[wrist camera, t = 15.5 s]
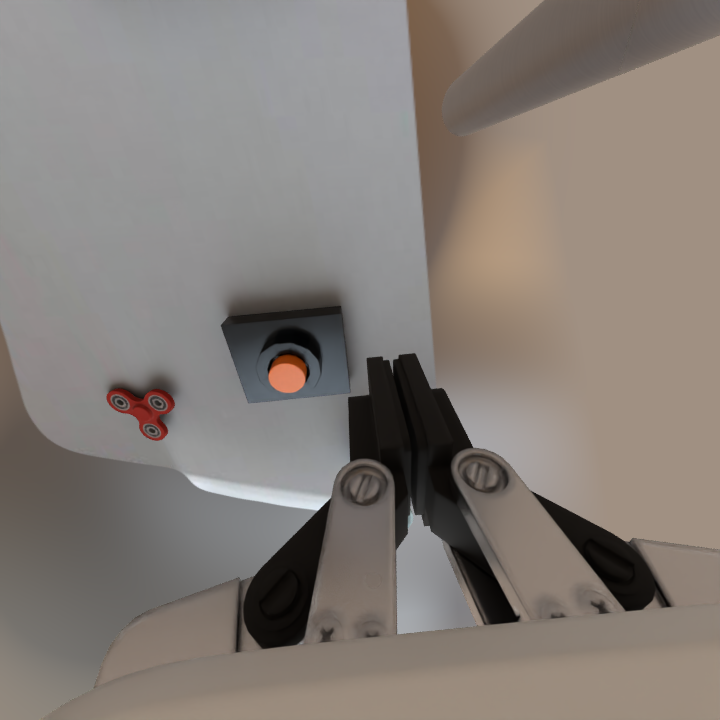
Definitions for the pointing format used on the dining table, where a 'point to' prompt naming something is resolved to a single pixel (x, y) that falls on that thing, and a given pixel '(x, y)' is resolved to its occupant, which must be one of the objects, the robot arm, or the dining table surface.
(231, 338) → the button block
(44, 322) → the dining table surface
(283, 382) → the button
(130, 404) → the fidget spinner
